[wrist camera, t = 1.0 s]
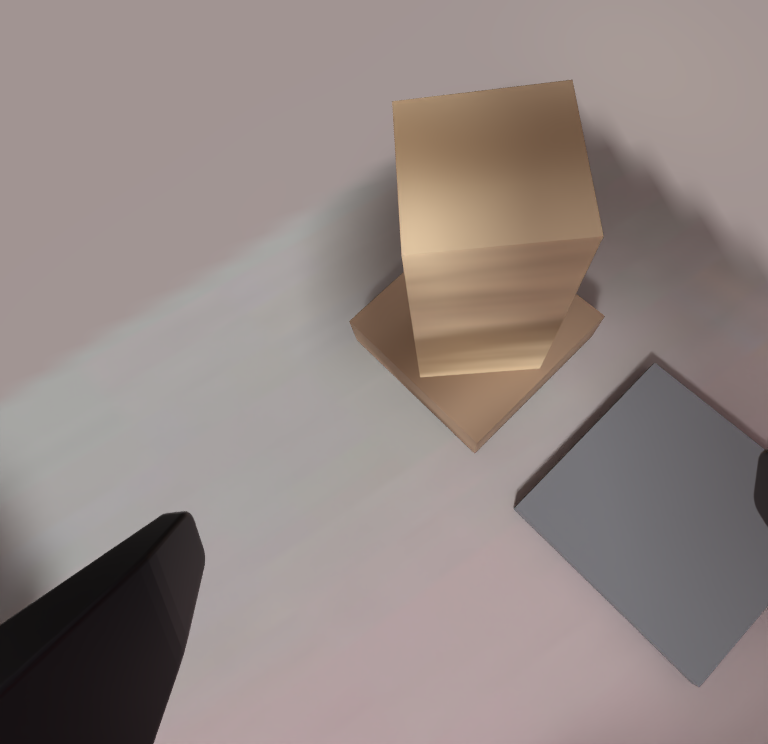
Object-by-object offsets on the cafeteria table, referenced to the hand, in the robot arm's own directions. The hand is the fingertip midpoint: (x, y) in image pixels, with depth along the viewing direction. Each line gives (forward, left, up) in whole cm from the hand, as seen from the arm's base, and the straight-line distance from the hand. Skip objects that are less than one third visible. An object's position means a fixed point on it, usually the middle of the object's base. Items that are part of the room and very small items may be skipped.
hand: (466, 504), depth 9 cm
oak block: (+5, -6, -11) cm, 14 cm away
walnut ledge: (+5, -6, -13) cm, 15 cm away
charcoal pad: (-5, -6, -13) cm, 15 cm away
